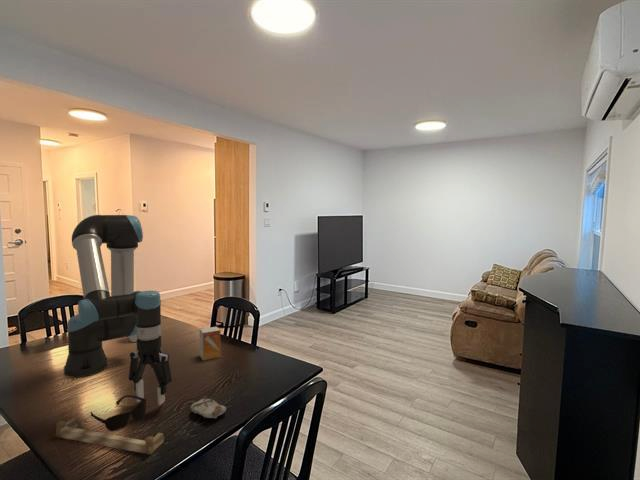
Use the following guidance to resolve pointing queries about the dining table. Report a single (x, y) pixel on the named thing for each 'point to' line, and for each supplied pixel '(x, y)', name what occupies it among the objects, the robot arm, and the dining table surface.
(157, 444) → the beige long bar
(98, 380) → the dining table surface
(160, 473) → the dining table surface
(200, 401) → the stone
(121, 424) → the sunglasses
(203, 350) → the small box
